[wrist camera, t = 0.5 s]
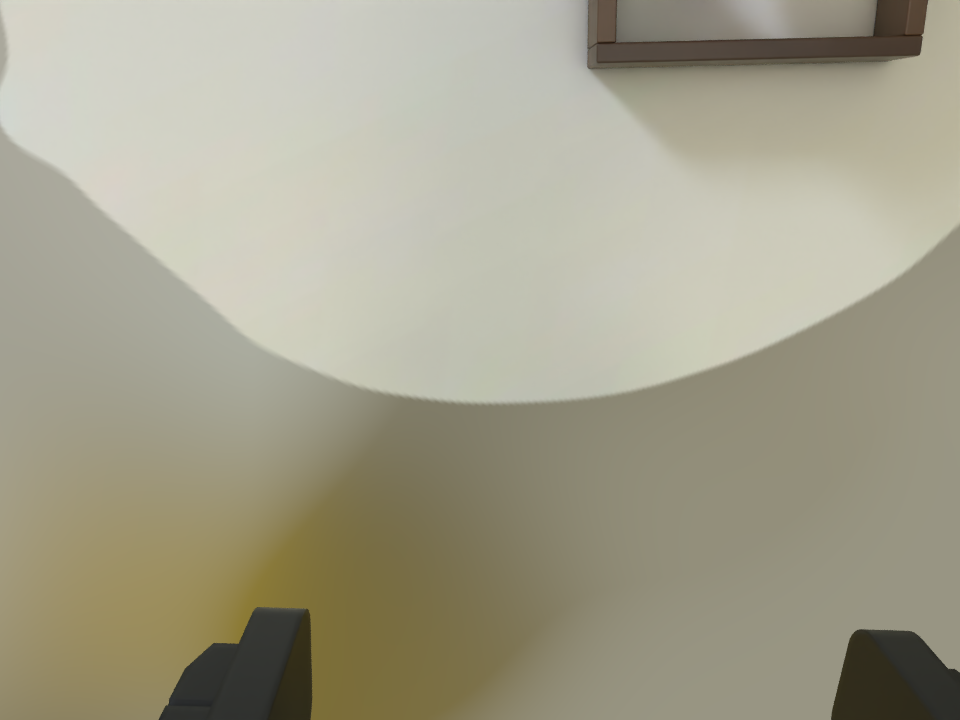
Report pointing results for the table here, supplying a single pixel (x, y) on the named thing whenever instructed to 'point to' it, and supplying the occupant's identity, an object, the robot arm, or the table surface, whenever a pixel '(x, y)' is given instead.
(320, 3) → the table surface
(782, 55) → the brown square frame
